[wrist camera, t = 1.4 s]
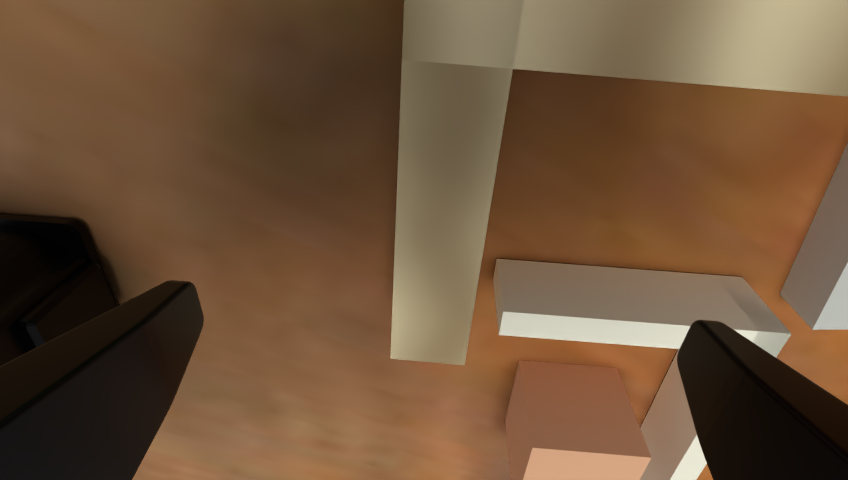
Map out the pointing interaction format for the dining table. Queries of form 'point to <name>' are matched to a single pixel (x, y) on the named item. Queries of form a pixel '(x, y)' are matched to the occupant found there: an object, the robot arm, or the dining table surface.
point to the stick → (824, 260)
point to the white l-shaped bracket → (635, 330)
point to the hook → (563, 53)
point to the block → (572, 425)
